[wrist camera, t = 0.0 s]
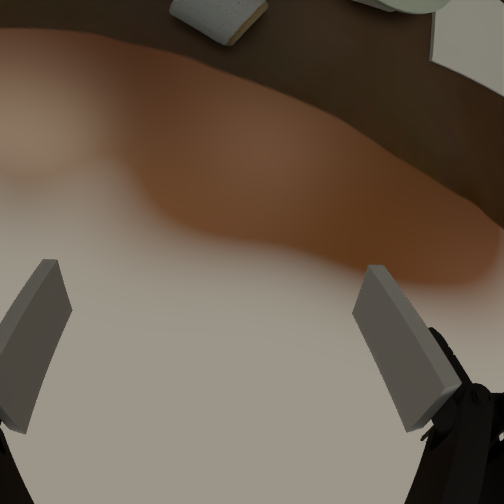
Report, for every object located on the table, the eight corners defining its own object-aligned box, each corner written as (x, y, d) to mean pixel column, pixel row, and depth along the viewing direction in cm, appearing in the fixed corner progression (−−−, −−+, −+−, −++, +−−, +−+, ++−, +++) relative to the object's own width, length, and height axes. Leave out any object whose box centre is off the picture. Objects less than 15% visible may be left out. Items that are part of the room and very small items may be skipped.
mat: (432, -40, 22) (435, -41, 22) (507, 9, 25) (511, 9, 24) (428, 60, 32) (432, 60, 31) (503, 97, 34) (506, 97, 33)
